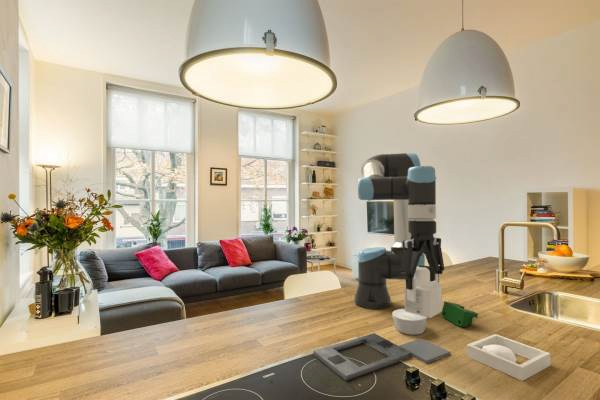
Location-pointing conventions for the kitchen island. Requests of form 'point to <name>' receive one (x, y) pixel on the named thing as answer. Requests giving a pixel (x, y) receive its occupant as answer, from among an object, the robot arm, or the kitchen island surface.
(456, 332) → the kitchen island surface
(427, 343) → the plate
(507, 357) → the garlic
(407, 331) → the ramekin
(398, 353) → the flat gray rectangular frame
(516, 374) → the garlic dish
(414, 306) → the container
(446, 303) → the green angular block
